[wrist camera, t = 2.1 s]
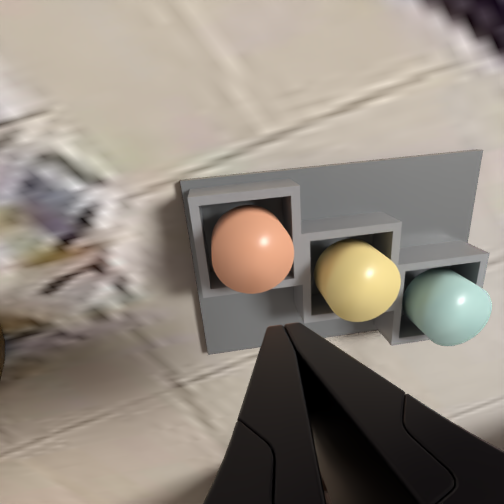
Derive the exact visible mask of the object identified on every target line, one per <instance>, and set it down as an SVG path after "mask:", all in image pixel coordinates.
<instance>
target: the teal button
mask: <svg viewBox="0 0 504 504" xmlns="http://www.w3.org/2000/svg"><path fill="white" fill-rule="evenodd" d="M402 307H403V311H404V313H405V315H406V316H407V317H408V318H409V319H410V320H411V321H412V322H413V323H414V324H415V325H416V326H417V327H418V328H419V329H420V330H421V331H422V332H423V333H424V334H425V335H426V336H427V337H428V338H429V339H430V340H431V341H433V342H434V343H436V344H438V345H442V346H454V345H458V344H462V343H464V342H466V341H468V340H470V339H471V338H473V337H474V336H476V335H477V334H478V333H479V332H480V331H481V330H482V329H483V328H484V326H485V325H486V323H487V321H488V320H489V317H490V314H491V310H492V303H491V299H490V296H489V294H488V293H487V292H486V291H485V290H484V289H482V288H481V287H479V286H477V285H476V284H474V283H472V282H471V281H469V280H468V279H466V278H464V277H463V276H461V275H459V274H458V273H456V272H454V271H453V270H451V269H448V268H433V269H429V270H427V271H424V272H423V273H421V274H419V275H418V276H417V277H415V278H414V279H413V280H412V281H411V282H410V284H409V285H408V286H407V288H406V290H405V292H404V295H403V300H402Z"/></svg>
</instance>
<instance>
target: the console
mask: <svg viewBox="0 0 504 504" xmlns="http://www.w3.org/2000/svg"><path fill="white" fill-rule="evenodd" d="M482 153H483V150H467V151H457V152H448V153H438V154H428V155H418V156H409V157H399V158H389V159H379V160H370V161H360V162H350V163H340V164H331V165H321V166H311V167H301V168H292V169H282V170H272V171H263V172H253V173H243V174H233V175H224V176H214V177H204V178H194V179H185V180H180V184H181V190H182V196H183V202H184V208H185V215H186V221H187V227H188V233H189V239H190V245H191V252H192V258H193V264H194V270H195V276H196V283H197V289H198V295H199V301H200V307H201V314H202V320H203V326H204V332H205V338H206V344H207V351H208V355H210V354H217V353H224V352H230V351H237V350H244V349H251V348H258V347H261V345H262V341H263V338H264V335H265V332H266V329H267V327H269V326H275V325H283V326H284V325H285V324H289V323H296V322H300V323H302V324H303V325H305V326H306V327H308V328H309V329H311V330H312V331H314V332H315V333H317V334H318V335H320V336H321V337H323V338H326V337H333V336H340V335H347V334H354V333H360V332H367V331H374V330H379V331H380V332H381V334H382V335H383V336H384V337H385V339H386V340H387V341H388V342H389V343H390V345H391V346H392V345H398V344H405V343H411V342H418V341H425V340H430V339H429V338H428V337H427V336H426V335H425V334H424V333H423V332H422V331H421V330H420V329H419V328H418V327H417V326H416V325H415V324H414V323H413V322H412V321H411V320H410V319H409V318H408V317H407V316H406V315H405V313H404V311H403V307H402V300H403V295H404V292H405V290H406V288H407V286H408V285H409V284H410V282H411V281H412V280H413V279H414V278H415V277H417V276H418V275H419V274H421V273H423V272H424V271H427V270H429V269H433V268H448V269H451V270H453V271H454V272H456V273H458V274H459V275H461V276H463V277H464V278H466V279H468V280H469V281H471V282H472V283H474V284H476V285H477V286H479V287H481V288H482V289H483V284H484V278H485V273H486V268H487V263H488V258H489V253H488V252H486V251H484V250H482V249H479V248H477V247H475V246H473V245H471V244H469V243H468V237H469V231H470V225H471V219H472V213H473V207H474V201H475V195H476V189H477V183H478V177H479V171H480V165H481V159H482ZM242 205H256V206H260V207H263V208H265V209H267V210H269V211H270V212H272V213H273V214H274V215H275V216H276V217H277V219H278V220H279V221H280V223H281V224H282V225H283V227H284V228H285V230H286V231H287V232H288V234H289V236H290V237H291V240H292V242H293V246H294V260H293V264H292V267H291V269H290V271H289V273H288V275H287V276H286V277H285V278H284V280H283V281H282V282H281V283H279V284H278V285H277V286H275V287H274V288H272V289H270V290H268V291H265V292H261V293H255V294H246V293H240V292H237V291H235V290H232V289H230V288H229V287H227V286H226V285H225V284H223V283H222V282H221V281H220V279H219V278H218V277H217V275H216V273H215V271H214V268H213V265H212V255H211V236H212V231H213V229H214V226H215V224H216V223H217V221H218V220H219V218H220V217H221V216H222V215H223V214H225V213H226V212H227V211H229V210H230V209H233V208H235V207H238V206H242ZM344 239H360V240H363V241H365V242H367V243H369V244H370V245H371V246H373V247H374V248H375V249H377V250H378V251H379V252H381V253H382V254H383V255H385V256H386V257H387V258H389V259H390V260H391V261H392V262H393V263H394V264H395V265H396V267H397V268H398V270H399V273H400V278H401V285H400V290H399V293H398V296H397V298H396V299H395V301H394V303H393V304H392V305H391V306H390V307H389V308H388V309H387V310H386V311H385V312H384V313H382V314H381V315H379V316H378V317H376V318H373V319H371V320H368V321H363V322H351V321H347V320H344V319H342V318H340V317H339V316H337V315H336V314H335V313H334V312H333V311H332V309H331V308H330V306H329V305H328V303H327V302H326V300H325V299H324V297H323V296H322V294H321V293H320V291H319V290H318V288H317V286H316V284H315V280H314V269H315V265H316V262H317V260H318V258H319V257H320V255H321V254H322V253H323V251H324V250H325V249H326V248H328V247H329V246H330V245H332V244H334V243H335V242H338V241H340V240H344Z"/></svg>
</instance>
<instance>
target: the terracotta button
mask: <svg viewBox="0 0 504 504" xmlns="http://www.w3.org/2000/svg"><path fill="white" fill-rule="evenodd" d="M211 255H212V265H213V268H214V271H215V273H216V275H217V277H218V278H219V279H220V281H221V282H222V283H223V284H225V285H226V286H227V287H229V288H230V289H232V290H235V291H237V292H240V293H246V294H255V293H261V292H265V291H268V290H270V289H272V288H274V287H275V286H277V285H278V284H279V283H281V282H282V281H283V280H284V278H285V277H286V276H287V275H288V273H289V271H290V269H291V267H292V264H293V260H294V246H293V242H292V240H291V237H290V236H289V234H288V232H287V231H286V230H285V228H284V227H283V225H282V224H281V223H280V221H279V220H278V219H277V217H276V216H275V215H274V214H273V213H272V212H270V211H269V210H267V209H265V208H263V207H260V206H256V205H242V206H238V207H235V208H233V209H230V210H229V211H227V212H226V213H225V214H223V215H222V216H221V217H220V218H219V220H218V221H217V223H216V224H215V226H214V229H213V231H212V236H211Z"/></svg>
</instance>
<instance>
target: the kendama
mask: <svg viewBox="0 0 504 504" xmlns="http://www.w3.org/2000/svg"><path fill="white" fill-rule="evenodd" d="M4 361H5V340H4V336H3V333H2V329H1V325H0V379H1V375H2V370H3V366H4Z"/></svg>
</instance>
